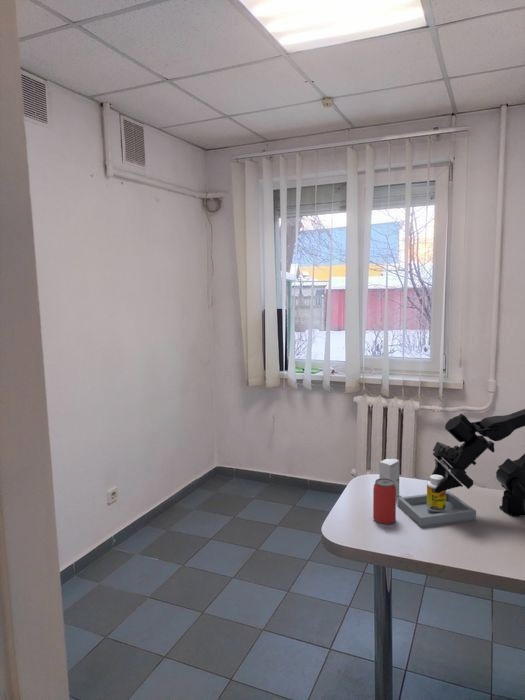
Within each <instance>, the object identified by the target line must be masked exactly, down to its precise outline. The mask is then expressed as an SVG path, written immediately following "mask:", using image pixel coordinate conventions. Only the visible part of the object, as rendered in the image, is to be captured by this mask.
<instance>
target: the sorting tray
mask: <svg viewBox="0 0 525 700" xmlns="http://www.w3.org/2000/svg"><path fill="white" fill-rule="evenodd" d="M397 507H398V508H399V509H400V510H401V511H402V512H403V514H406V516H407V517H408V518H410V519H411V520H412V521H413V522H414V523H415V524H416V525H417V526H418V527H420V528H421V529H422V528H427V527H429V528H430V527H436V526H437V527H438V526H443V525H449V524H457V523H465V522H472V521H476V520H477V510H476V509H474V508H473V507H472V506H471V505H469V504H468V503H466V502H464V500H461V499H460V498H459V497H457V496H456V495H455V494H453V493H452V492H450V491H448V490H447V491H446V509H445V510H444V511H442V512H435V511H431V510H429V509H428V508H427V493H426V494H425V493H424V494H415V495H410V496H408V495H407V496H399V497H398V496H397Z"/></svg>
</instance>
